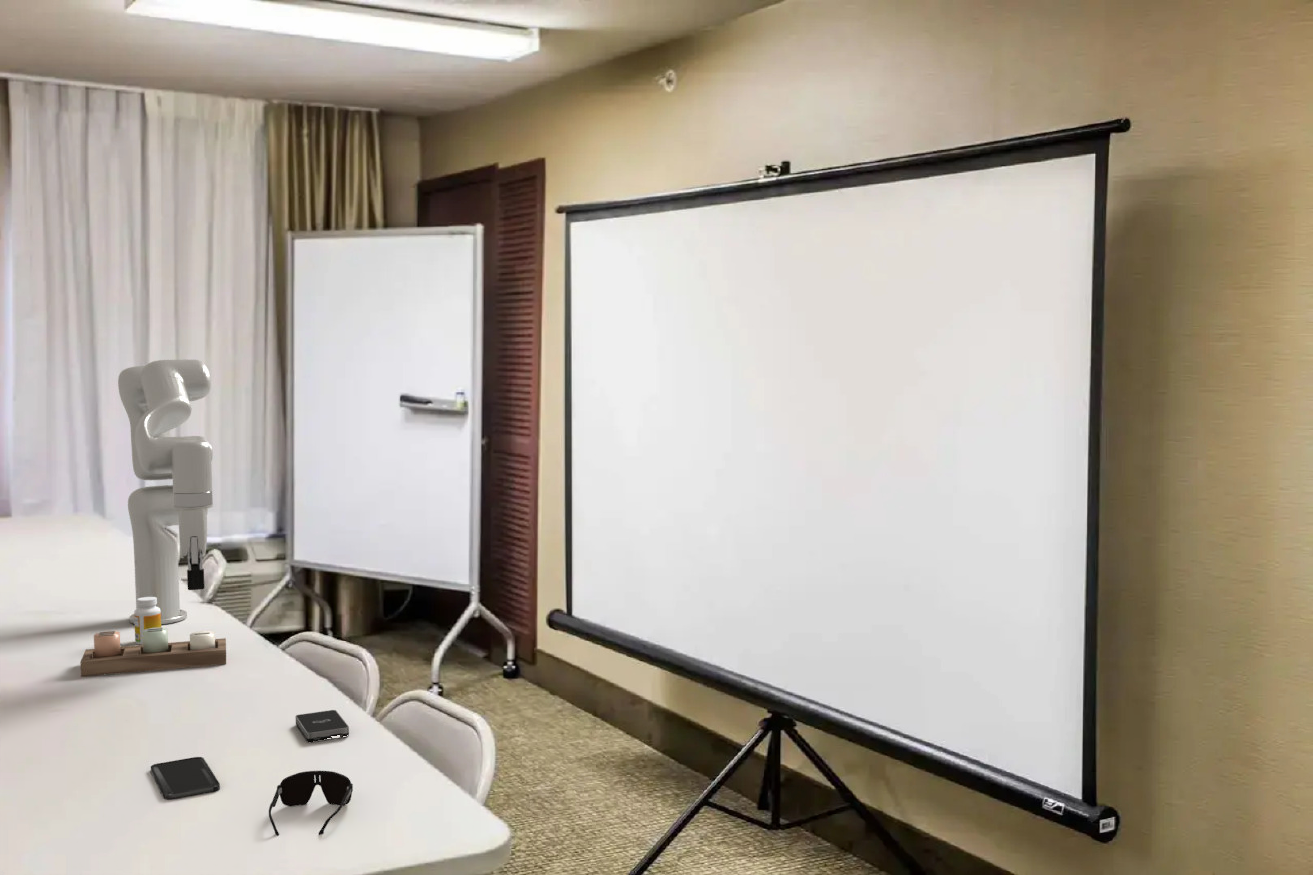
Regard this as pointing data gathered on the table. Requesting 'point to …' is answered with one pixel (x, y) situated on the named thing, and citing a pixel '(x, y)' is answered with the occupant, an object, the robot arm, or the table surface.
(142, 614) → the supplement bottle
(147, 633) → the button
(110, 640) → the button
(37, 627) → the table surface
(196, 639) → the button
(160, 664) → the button board
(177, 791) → the phone
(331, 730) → the external hard drive
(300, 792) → the sunglasses
